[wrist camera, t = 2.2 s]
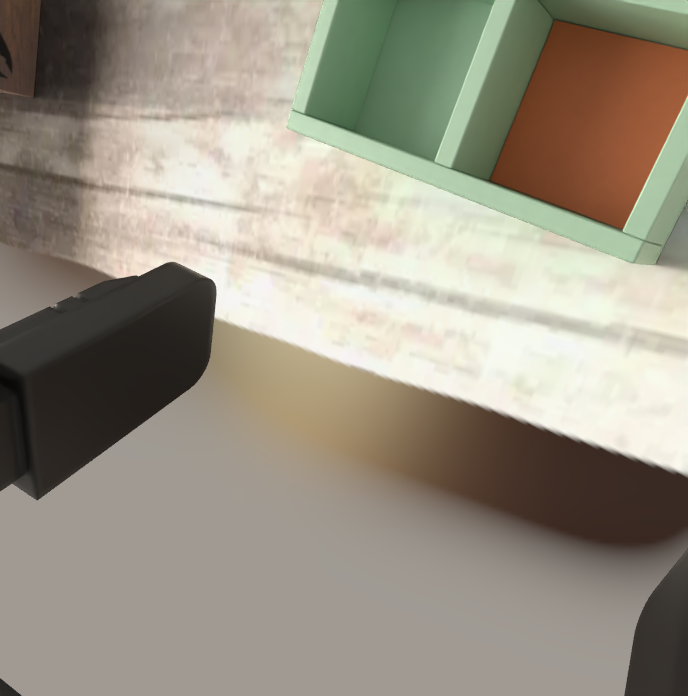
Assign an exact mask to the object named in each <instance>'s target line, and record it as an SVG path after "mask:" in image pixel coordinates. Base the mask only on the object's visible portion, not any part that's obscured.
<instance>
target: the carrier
mask: <svg viewBox="0 0 688 696" xmlns="http://www.w3.org/2000/svg"><path fill="white" fill-rule="evenodd" d="M292 109H293V110H292V111H291V112H290V116H289V119H288V122H287V126H286V128H287V129H289V130H292V131H294V132H297V133H300V134H302V135H305V136H307V137H310V138H312V139H315V140H317V141H320V142H323V143H325V144H328V145H330V146H333V147H335V148H338V149H340V150H343V151H346V152H348V153H351V154H353V155H356V156H358V157H361V158H363V159H366V160H369V161H371V162H374V163H376V164H379V165H381V166H384V167H386V168H389V169H392V170H394V171H397V172H399V173H402V174H404V175H407V176H410V177H412V178H415V179H417V180H420V181H422V182H425V183H427V184H430V185H433V186H435V187H438V188H440V189H443V190H445V191H448V192H450V193H453V194H456V195H458V196H461V197H463V198H466V199H468V200H471V201H473V202H476V203H479V204H481V205H484V206H486V207H489V208H491V209H494V210H496V211H499V212H502V213H504V214H507V215H509V216H512V217H514V218H517V219H520V220H522V221H525V222H527V223H530V224H532V225H535V226H537V227H540V228H543V229H545V230H548V231H550V232H553V233H555V234H558V235H560V236H563V237H566V238H568V239H571V240H573V241H576V242H578V243H581V244H583V245H586V246H589V247H591V248H594V249H596V250H599V251H601V252H604V253H606V254H609V255H612V256H614V257H617V258H619V259H622V260H624V261H627V262H629V263H633V264H645V265H655V263H656V261H657V259H658V257H659V255H660V253H661V251H662V249H663V247H664V245H665V243H666V241H667V240H668V238H669V236H670V234H671V232H672V230H673V228H674V226H675V224H676V222H677V220H678V218H679V216H680V214H681V212H682V210H683V208H684V206H685V204H686V202H687V200H688V0H324V1H323V5H322V8H321V11H320V15H319V18H318V21H317V25H316V28H315V31H314V35H313V38H312V42H311V45H310V48H309V52H308V55H307V58H306V62H305V65H304V69H303V72H302V75H301V79H300V82H299V85H298V89H297V92H296V95H295V99H294V102H293V106H292Z"/></svg>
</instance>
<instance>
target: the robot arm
mask: <svg viewBox="0 0 688 696" xmlns="http://www.w3.org/2000/svg"><path fill="white" fill-rule="evenodd" d="M215 304H216V286H215V283H214V282H213V281H212V280H211V279H209V278H207V277H205V276H203V275H201V274H199V273H197V272H195V271H193V270H191V269H188V268H186V267H184V266H182V265H180V264H178V263H176V262H168V263H166V264H163V265H161V266H159V267H157V268H155V269H153V270H151V271H149V272H147V273H145V274H143V275H141V276H139V277H138V276H130V277H125V278H119V279H114V280H109V281H104V282H101V283H99V284H97V285H95V286H93V287H91V288H88V289H86V290H84V291H82V292H80V293H78V294H77V296H76V297H75V298H74V297H72V296H71V297H69V298H67V299H65V300H63V301H60V302H58V303H56V304H55V306H54V308H51V307H48V308H46V309H43V310H41V311H39V312H37V313H35V314H33V315H30V316H28V317H26V318H24V319H22V320H20V321H18V322H15V323H13V324H11V325H9V326H7V327H5V328H3V329H0V491H1V490H3V489H4V488H6V487H7V486H9V485H10V484H14V485H15V486H17V487H18V488H20V489H21V490H23V491H24V492H26V493H27V494H28V495H30V496H31V497H33V498H34V499H36V500H38V499H40V498H41V497H43V496H44V495H45V494H47V493H48V492H50V491H51V490H52V489H54V488H55V487H56V486H58V485H59V484H60V483H62V482H63V481H64V480H66V479H67V478H68V477H70V476H71V475H73V474H74V473H75V472H77V471H78V470H79V469H81V468H82V467H83V466H85V465H86V464H88V463H89V462H90V461H92V460H93V459H94V458H96V457H97V456H98V455H100V454H101V453H102V452H104V451H105V450H107V449H108V448H109V447H111V446H112V445H114V444H115V443H116V442H118V441H119V440H120V439H122V438H123V437H124V436H126V435H127V434H129V433H130V432H131V431H132V430H134V429H135V428H137V427H138V426H139V425H141V424H142V423H143V422H145V421H146V420H148V419H149V418H150V417H152V416H153V415H154V414H156V413H157V412H158V411H160V410H161V409H163V408H164V407H165V406H166V405H168V404H169V403H171V402H172V401H174V400H175V399H176V398H178V397H179V396H180V395H182V394H183V393H184V392H186V391H187V390H189V389H190V388H191V387H192V386H194V385H195V383H196V382H197V381H198V380H199V379H200V377H201V376H202V374H203V373H204V371H205V369H206V367H207V365H208V362H209V358H210V353H211V343H212V333H213V323H214V314H215ZM0 696H21V695H20V694H19V693H18V692H16V691H15V690H14V689H13V688H12V687H10V686H9V685H8V684H6V683H5V682H4V681H3V680H2V679H0ZM625 696H688V549H687V550H686V551H685V553H684V554H683V555H682V557H681V558H680V559H679V560H678V562H677V563H676V564H675V565H674V566H673V568H672V569H671V570H670V571H669V573H668V574H667V575H666V576H665V577H664V579H663V580H662V581H661V582H660V584H659V585H658V586H657V588H656V589H655V590H654V591H653V593H652V594H651V596H650V597H649V599H648V601H647V602H646V604H645V606H644V608H643V610H642V613H641V615H640V617H639V620H638V623H637V626H636V630H635V635H634V641H633V646H632V652H631V659H630V665H629V671H628V677H627V684H626V689H625Z"/></svg>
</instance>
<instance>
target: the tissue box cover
mask: <svg viewBox="0 0 688 696" xmlns="http://www.w3.org/2000/svg"><path fill="white" fill-rule="evenodd" d="M40 6H41V0H0V93H7V94H13V95H20V96H26V97H32V98H34V86H35V73H36V59H37V46H38V32H39V19H40Z"/></svg>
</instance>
